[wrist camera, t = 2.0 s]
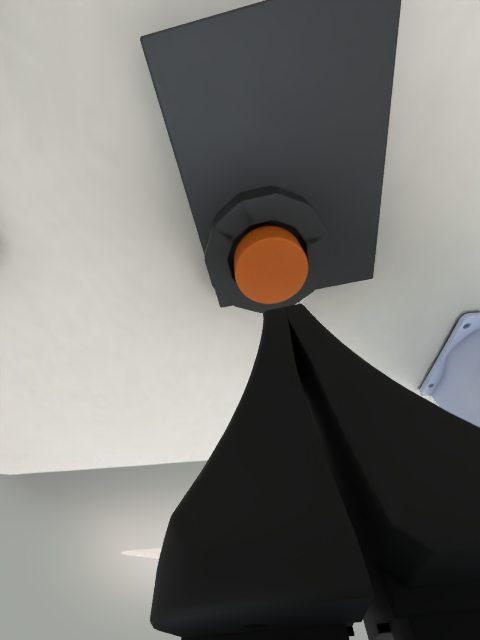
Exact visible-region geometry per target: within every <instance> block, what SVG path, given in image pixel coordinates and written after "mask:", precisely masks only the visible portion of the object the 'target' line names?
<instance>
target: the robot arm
mask: <svg viewBox="0 0 480 640" xmlns="http://www.w3.org/2000/svg"><path fill="white" fill-rule="evenodd" d="M263 317H264V320H263V330H262V336H261V341H260V345H259V349H258V353H257V357H256V360H255V363H254V366H253V369H252V372H251V375H250V378H249V381H248V383H247V386H246V388H245V391H244V393H243V395H242V398H241V400H240V402H239V404H238V406H237V409H236V411H235V413H234V415H233V417H232V419H231V421H230V423H229V425H228V427H227V429H226V430H225V432H224V434H223V436H222V438H221V439H220V441H219V443H218V444H217V446H216V448H215V449H214V451H213V453H212V455H211V456H210V458H209V460H208V461H207V463H206V465H205V466H204V468H203V469H202V471H201V473H200V474H199V476H198V477H197V479H196V480H195V481H194V483H193V485H192V486H191V487H190V489H189V490H188V492H187V493H186V495H185V496H184V498H183V499H182V501H181V502H180V504H179V505H178V507H177V508H176V509H175V511H174V512H173V514H172V516H171V518H170V521H169V524H168V528H167V531H166V535H165V538H164V542H163V546H162V550H161V554H160V558H159V562H158V567H157V573H156V580H155V587H154V594H153V603H152V609H151V616H150V622H151V624H152V626H153V628H154V629H157V630H159V631H162V632H166V633H170V634H173V635H176V636H180V637H182V638H181V640H349V636H354V631H353V627H352V626H353V623H355V622H361V621H362V620H364V624H365V628H366V631H367V635H368V638H369V640H480V313H467V314H464V315H463V316H462V317H461V318H460V320H459V321H458V323H457V325H456V327H455V329H454V330H453V332H452V334H451V336H450V337H449V339H448V341H447V343H446V344H445V346H444V348H443V350H442V352H441V353H440V355H439V357H438V359H437V360H436V362H435V364H434V366H433V367H432V369H431V371H430V373H429V374H428V376H427V378H426V380H425V382H424V383H423V385H422V387H421V389H420V393H421V394H422V395H424V396H428V395H431V396H432V397H433V398H434V400H435V401H436V403H437V404H438V405H439V406H437V405H435V404H433V403H432V402H430V401H428V400H426V399H424V398H423V397H421V396H419V395H417V394H415V393H414V392H412V391H410V390H408V389H407V388H405V387H403V386H402V385H400V384H399V383H397V382H395V381H394V380H392V379H391V378H389V377H388V376H386V375H385V374H383V373H382V372H380V371H379V370H377V369H376V368H374V367H373V366H371V365H370V364H369V363H367V362H366V361H365V360H363V359H362V358H361V357H359V356H358V355H357V354H355V353H354V352H353V351H352V350H350V349H349V348H348V347H347V346H345V345H344V344H343V343H342V342H341V341H340V340H338V339H337V338H336V337H335V336H334V335H333V334H332V333H330V332H329V331H328V330H327V329H326V328H325V327H324V326H323V325H322V324H321V323H320V322H319V321H318V320H317V319H316V318H315V317H314V316H313V315H312V314H311V313H310V312H309V311H308V310H307V309H306V307H305V306H304V305H302V304H297V305H292V306H286V307H281V308H276V309H271V310H266V311H265V312H264V313H263Z"/></svg>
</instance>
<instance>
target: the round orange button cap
mask: <svg viewBox="0 0 480 640" xmlns="http://www.w3.org/2000/svg"><path fill="white" fill-rule="evenodd" d="M234 269H235V279H236V283H237V285H238V287H239V289H240V290H241V292H242V293H243V294H244V295H245V296H246V297H248V298H249V299H251V300H253V301H255V302H258V303H263V304H274V303H279V302H282V301H285V300H287V299H289V298H290V297H292V296H293V295H295V294H296V293H297V292H298V291H299V290H300V289H301V287H302V286H303V284H304V282H305V280H306V278H307V274H308V260H307V257H306V255H305V252H304V251H303V249H302V247H301V246H300V244H299V242H298V240H297V239H296V237H295V236H294V235H293V234H292V233H291V232H289V231H288V230H286V229H284V228H282V227H278V226H262V227H259V228H256V229H254V230H252V231H250V232H249V233H248V234H246V235H245V236H244V237H243V238H242V239H241V241H240V242H239V244H238V246H237V248H236V251H235V255H234Z"/></svg>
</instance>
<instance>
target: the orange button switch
mask: <svg viewBox="0 0 480 640" xmlns="http://www.w3.org/2000/svg"><path fill="white" fill-rule="evenodd" d="M400 7H401V0H265V1H262V2H258V3H255V4H252V5H248V6H245V7H241V8H238V9H234V10H231V11H227V12H224V13H221V14H217V15H214V16H210V17H207V18H203V19H200V20H196V21H193V22H190V23H186V24H183V25H179V26H176V27H172V28H169V29H165V30H162V31H159V32H155V33H152V34H148V35H145V36H141V38H140V41H141V44H142V48H143V51H144V54H145V58H146V61H147V64H148V68H149V71H150V74H151V78H152V81H153V84H154V88H155V91H156V94H157V98H158V101H159V104H160V108H161V111H162V114H163V118H164V121H165V124H166V128H167V131H168V134H169V138H170V141H171V144H172V148H173V151H174V154H175V158H176V161H177V164H178V168H179V171H180V174H181V178H182V181H183V184H184V188H185V191H186V194H187V198H188V201H189V204H190V208H191V211H192V214H193V218H194V221H195V224H196V228H197V231H198V234H199V238H200V241H201V244H202V248H203V251H204V254H205V263H206V266H207V269H208V273H209V276H210V279H211V283H212V286H213V287H214V288H215V291H216V294H217V298H218V301H219V305H220V307H221V308H222V307H227V306H232V305H234V306H236V307H239V308H243V309H247V310H251V311H255V312H259V313H261V312H262V313H264V312H265V311H266V310H271V309H276V308H281V307H286V306H292V305H295V304H296V303H297V302H299V301H300V300H302V299H303V298H305V297H306V296H308V295H309V294H310V293H312V292H313V291H314V290H315V289H320V288H325V287H331V286H336V285H341V284H346V283H351V282H356V281H362V280H367V279H372V278H373V273H374V263H375V254H376V244H377V234H378V224H379V214H380V204H381V194H382V184H383V175H384V165H385V155H386V145H387V135H388V125H389V115H390V105H391V96H392V86H393V76H394V66H395V56H396V46H397V36H398V26H399V17H400ZM262 226H278V227H282V228H284V229H286V230H288V231H289V232H291V233H292V234H293V235H294V236H295V237H296V239H297V240H298V242H299V244H300V246H301V247H302V249H303V251H304V252H305V255H306V257H307V260H308V274H307V278H306V280H305V282H304V284H303V286H302V287H301V289H300V290H299V291H298V292H297V293H296V294H295V295H293V296H292V297H290V298H289V299H287V300H285V301H282V302H279V303H274V304H263V303H258V302H255V301H253V300H251V299H249V298H248V297H246V296H245V295H244V294H243V293H242V292H241V290H240V289H239V287H238V285H237V283H236V279H235V269H234V255H235V251H236V248H237V246H238V244H239V242H240V241H241V239H242V238H243V237H244V236H245V235H246V234H248V233H249V232H250V231H252V230H254V229H256V228H259V227H262Z"/></svg>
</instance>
